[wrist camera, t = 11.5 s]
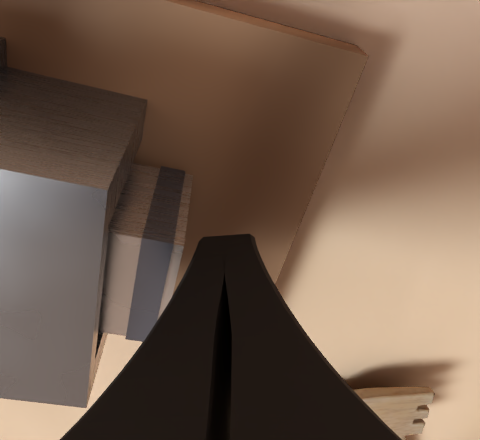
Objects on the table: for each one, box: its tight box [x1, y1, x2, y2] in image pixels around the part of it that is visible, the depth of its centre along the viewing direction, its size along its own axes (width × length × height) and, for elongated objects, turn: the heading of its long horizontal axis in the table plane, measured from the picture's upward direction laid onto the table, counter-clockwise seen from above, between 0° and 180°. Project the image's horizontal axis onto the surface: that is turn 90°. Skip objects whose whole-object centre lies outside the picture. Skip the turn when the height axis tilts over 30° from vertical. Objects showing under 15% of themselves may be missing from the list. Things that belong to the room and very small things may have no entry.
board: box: [0, 0, 369, 296], centre depth 11 cm, size 15×10×1 cm
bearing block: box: [0, 67, 147, 408], centre depth 9 cm, size 3×6×4 cm, turn 165°
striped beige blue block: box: [98, 163, 193, 342], centre depth 10 cm, size 7×3×3 cm, turn 76°
